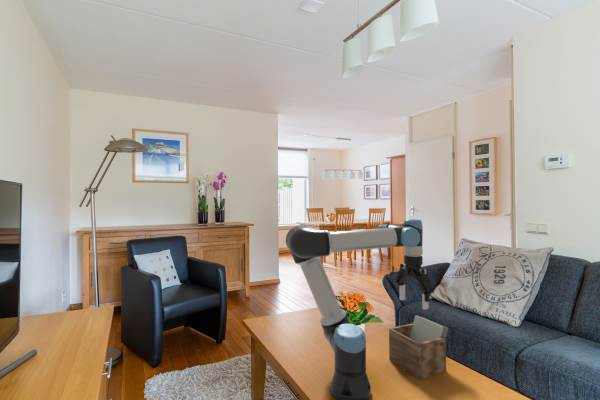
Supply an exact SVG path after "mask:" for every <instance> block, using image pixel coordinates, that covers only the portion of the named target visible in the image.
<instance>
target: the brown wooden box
mask: <svg viewBox="0 0 600 400" xmlns="http://www.w3.org/2000/svg"><path fill="white" fill-rule="evenodd" d="M412 326H413V322H412V323H409V324H404V325H399V326H395V327H394V326H393V327H390V328H388V347H389V348H388V349H389V351H388V354H389V355H388V356H389V357H388V359H389V360H390V361H391V362H392V363H394V364H395V365H397V366H398V367H400V368H401V369H402V370H404V371H405V372H407V373H409V374H411V376H413V377H414V378H416V379H418V380H419V381H420V380H424V379H426V378H429V377H433V376H435V375H439V374H442V373H444V372H447V341H446V340H447V337H446V338H445V337H441V338H437V339H433V340H430V341H426V342H422V343H418V342H416V341H414V340H412V339H410V334H411V330H412Z"/></svg>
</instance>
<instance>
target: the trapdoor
mask: <svg viewBox="0 0 600 400" xmlns="http://www.w3.org/2000/svg"><path fill="white" fill-rule="evenodd" d="M412 323H413V326H412V330H411V334H410V339H412V340H414V341H416V342H418V343H422V342H426V341H430V340H433V339H437V338H441V337H445V338H446V339H447V336H448V331H449V327H446V326H444V325H441V324H439V323H437V322H434V321H433V320H430V319H428V318H425V317H422V316H419V315H414V318H413V322H412Z"/></svg>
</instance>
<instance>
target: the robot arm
mask: <svg viewBox="0 0 600 400" xmlns="http://www.w3.org/2000/svg"><path fill="white" fill-rule="evenodd" d="M423 227H424V226H423V222H422V220H421V219H415V218H409V219H407V218H406V219H404V221H403V223H400V224H398V223H397V224H393V223H392V224H391V223H390V224H389V223H388V224H387V223H385V224H379V225H378V227H377V228H373V229H371V228H370V229H369V228H368V229H360V230H345V231H344V230H343V231H334V232H331V231H328V230H327V229H326V230H325V229H324V230H319V229H312V228H310V227H307V226H306V225H301V224H300V225H296V226H293V227H292V228H290V229H289V230H288V231H287V233H286V237H285V244H286V247H287V248H288V250H289V252H290V253H291V256H292V259H293V261H294V264H296V265H298V266H300V269H301V270H302V273H303V276H304V278H305V280H306V282H307V285H308V287H309V290H310V292H311V294H312V297H313V299H314V301H315V304H316V306H317V309H318V311H319V313H320V316H321V318H320V321H319V323H320V325H321V327H322V330H323V331H322V332H323V335H324V337H325V339H326V340H327V342H328V343H329V345H330V347H331V349H332V350H333V354H334V371H333V374H332V378H331V381H330V387H329V388H330V389H329V390H330V392H329V393H330V394H331V396H332V397H333V398H334V399H335V400H369V399H370V398H371V396H372V386H371V383H370V379H369V378H368V374H367V348H366V347H367V339H366V333H365V331H364V329H363V328H362V327H360V326H358V325H356V324H354V323H351V320H350V318H349V316H348V314H347V311H346V309H343V308H341V306H340V304H339V302H338V299H337V296H336V294H335V291H334V289H333V287H332V284H331V283H330V279H329V277H328V275H327V271H325V268H324V265H323V263H322V261H321V258H320V257H329V256H330V255H332V253H344V252H352V251H362V250H363V251H364V250H365V251H366V250H374V249H375V250H376V249H387V248H400V247H403V253H404V254H403V255H404V256H403V262H404V263H400V264H399V271H398V273H397V275H396V278H395V280H394V282H395V283H396V284H397V285H398V292H399V299H398V300H399V301H405V300H406V282H407V281H408V279H409V278H410V277H411V278H414V279H416V281H417V283H418V285H419V286H420V289H421V291H422V292H423V293H421V294H422V295H421V296H422V297H421V299H422V300H421V302H422V303H421V304H422V305H421V306H422V308H421V309H422V310H425V311H426V310H429V307H430V305H429V304H430V303H429V302H430V297H431V296H430V294H434V293H435V291H434V288H433V285H432V282H431V280H430V276H429V271H428V270H429V269H428V268H422V265H423V262H424V261H423V259H424V258H423V256H422V255H423V231H424V230H423Z"/></svg>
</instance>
